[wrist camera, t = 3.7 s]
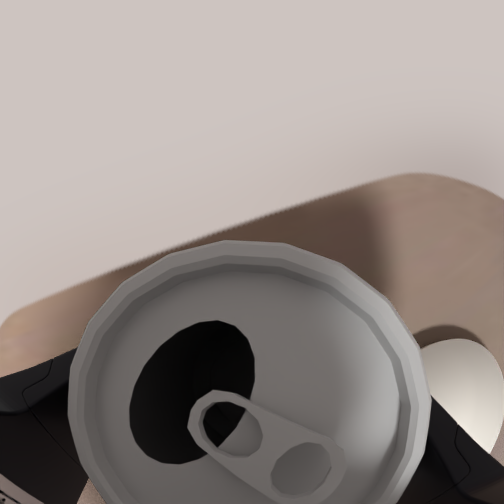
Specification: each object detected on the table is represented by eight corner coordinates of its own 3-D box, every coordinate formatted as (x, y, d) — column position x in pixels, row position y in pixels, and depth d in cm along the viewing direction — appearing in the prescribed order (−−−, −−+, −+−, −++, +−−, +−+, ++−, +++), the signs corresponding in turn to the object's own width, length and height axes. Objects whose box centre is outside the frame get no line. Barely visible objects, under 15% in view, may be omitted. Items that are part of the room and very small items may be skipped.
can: (241, 294, 16) (179, 144, 5) (353, 356, 14) (512, 322, 3) (173, 398, 14) (2, 427, 3) (283, 464, 12) (299, 617, 1)
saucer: (511, 416, 10) (519, 416, 9) (399, 530, 8) (404, 536, 8) (454, 304, 15) (462, 300, 14) (316, 427, 13) (319, 431, 12)
